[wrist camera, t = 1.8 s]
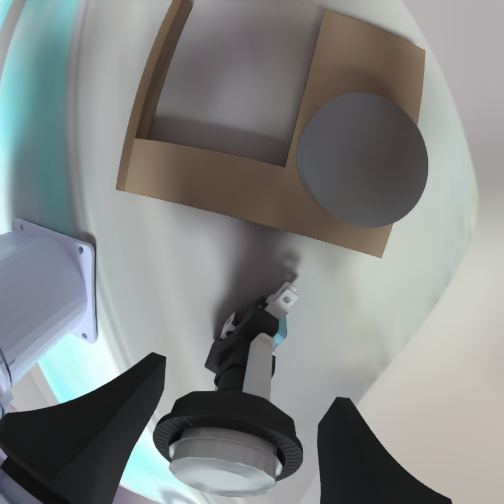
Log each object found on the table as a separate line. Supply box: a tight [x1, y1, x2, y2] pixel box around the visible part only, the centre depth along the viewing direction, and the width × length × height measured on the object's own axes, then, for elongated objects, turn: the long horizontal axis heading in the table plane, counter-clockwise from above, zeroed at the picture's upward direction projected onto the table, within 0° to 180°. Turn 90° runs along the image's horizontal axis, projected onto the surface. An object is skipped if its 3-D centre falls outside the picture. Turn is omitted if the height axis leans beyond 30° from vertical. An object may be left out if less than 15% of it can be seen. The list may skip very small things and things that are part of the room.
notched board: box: [116, 0, 428, 258], centre depth 10 cm, size 14×12×4 cm
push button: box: [153, 282, 303, 497], centre depth 11 cm, size 7×5×10 cm
